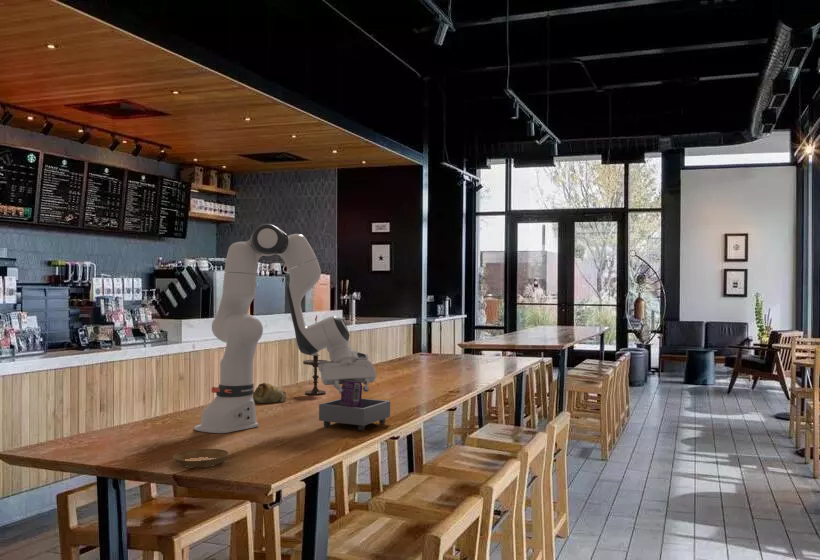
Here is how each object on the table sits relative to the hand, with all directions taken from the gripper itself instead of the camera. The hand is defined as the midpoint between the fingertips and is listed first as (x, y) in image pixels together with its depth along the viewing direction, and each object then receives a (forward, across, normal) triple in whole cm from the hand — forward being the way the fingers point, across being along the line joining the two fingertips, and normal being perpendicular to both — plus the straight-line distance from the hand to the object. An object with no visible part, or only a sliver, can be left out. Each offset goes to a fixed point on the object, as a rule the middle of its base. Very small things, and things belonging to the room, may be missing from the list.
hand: (354, 391), depth 260 cm
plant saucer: (+29, -59, -11) cm, 67 cm away
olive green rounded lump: (-35, -11, +52) cm, 64 cm away
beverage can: (+6, -2, +6) cm, 8 cm away
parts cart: (+9, 0, +8) cm, 12 cm away
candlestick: (-42, +13, +59) cm, 73 cm away
